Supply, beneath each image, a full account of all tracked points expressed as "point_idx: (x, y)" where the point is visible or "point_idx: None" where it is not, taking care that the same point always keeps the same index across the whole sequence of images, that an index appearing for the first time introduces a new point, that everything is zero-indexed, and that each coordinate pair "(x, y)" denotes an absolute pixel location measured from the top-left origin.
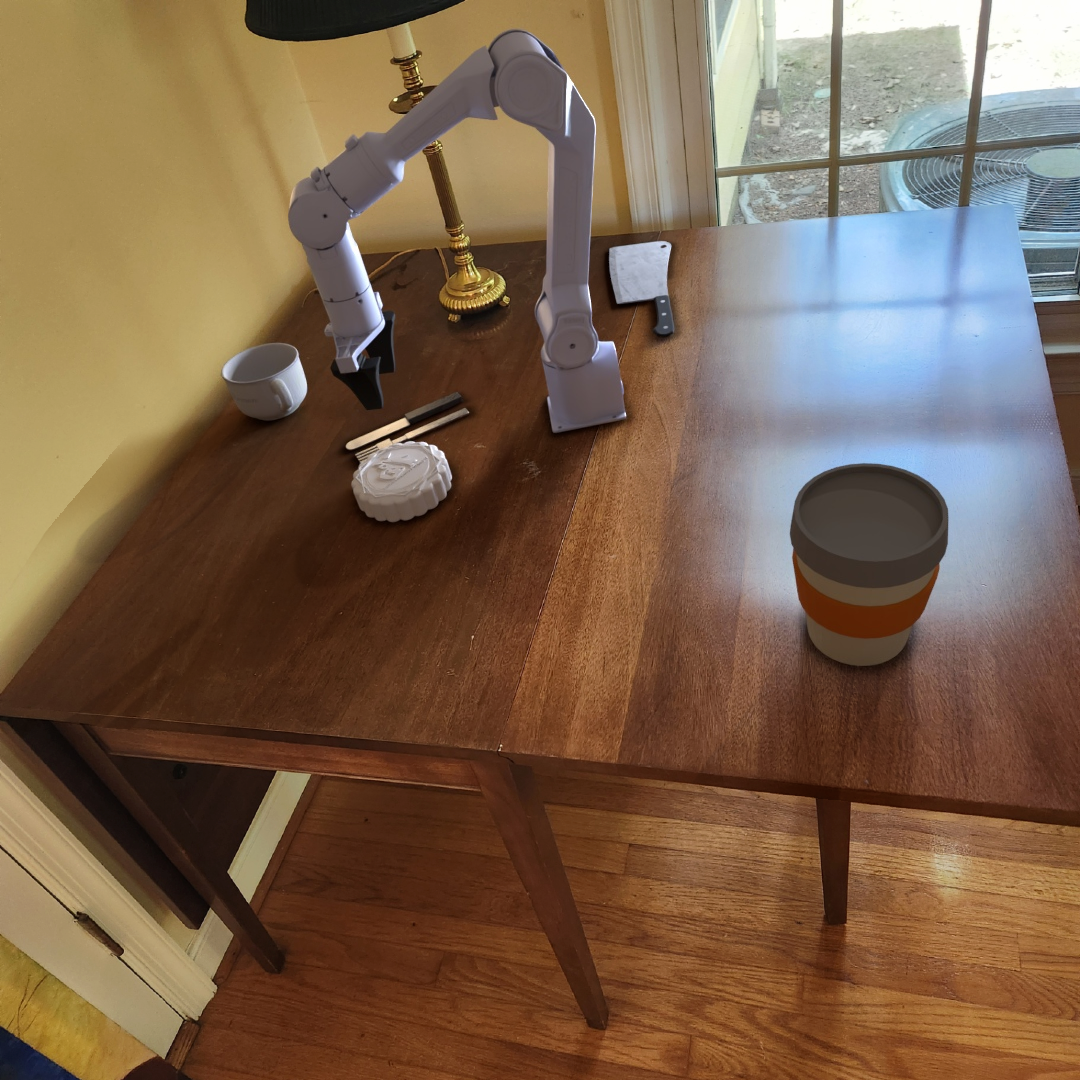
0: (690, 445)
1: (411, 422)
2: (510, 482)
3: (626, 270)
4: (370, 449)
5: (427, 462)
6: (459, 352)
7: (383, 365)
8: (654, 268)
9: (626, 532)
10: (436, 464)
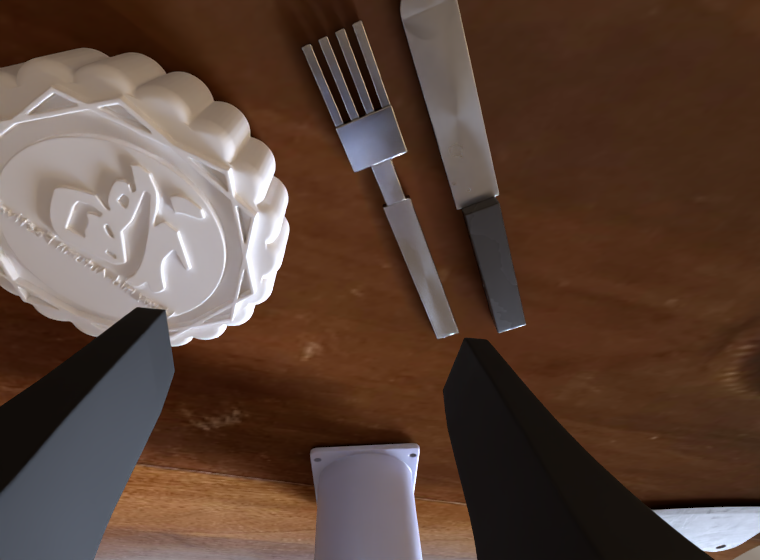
0: (245, 545)
1: (463, 214)
2: (178, 394)
3: (705, 520)
4: (374, 84)
5: None
6: (709, 313)
7: (465, 399)
8: None
9: None
10: None
